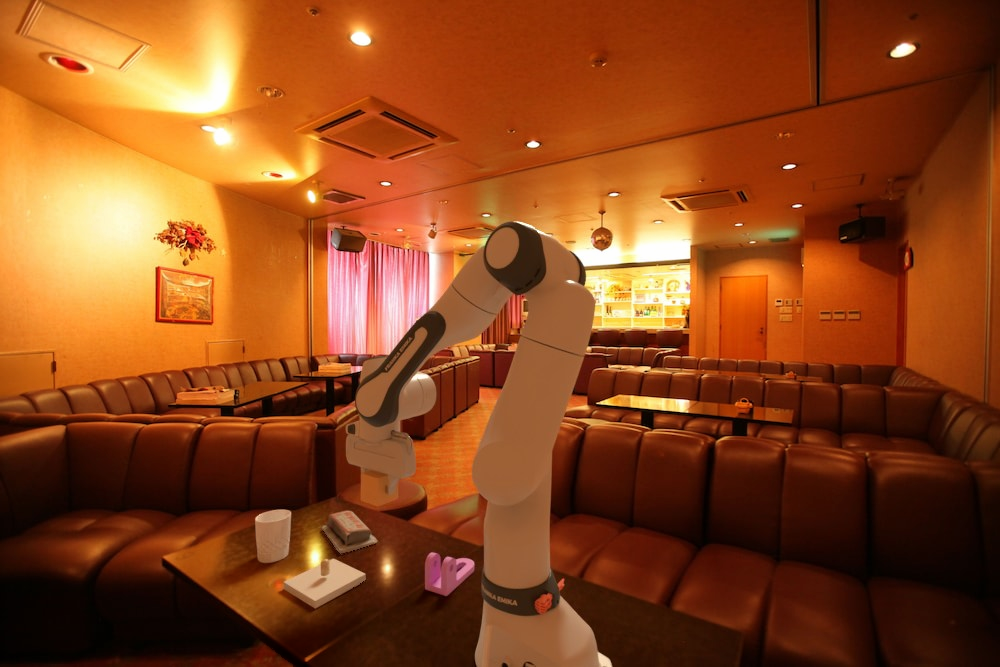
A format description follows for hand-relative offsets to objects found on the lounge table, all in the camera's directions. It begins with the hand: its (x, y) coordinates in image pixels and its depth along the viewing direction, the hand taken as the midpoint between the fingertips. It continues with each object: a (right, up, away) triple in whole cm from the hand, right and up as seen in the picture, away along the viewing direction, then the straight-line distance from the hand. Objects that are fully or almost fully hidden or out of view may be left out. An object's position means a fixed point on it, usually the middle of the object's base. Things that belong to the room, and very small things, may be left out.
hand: (379, 490), depth 96 cm
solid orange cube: (0, -2, 0) cm, 2 cm away
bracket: (+17, -20, 0) cm, 26 cm away
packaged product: (-14, -21, +21) cm, 32 cm away
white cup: (-29, -20, +10) cm, 37 cm away
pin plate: (-11, -20, -3) cm, 23 cm away
